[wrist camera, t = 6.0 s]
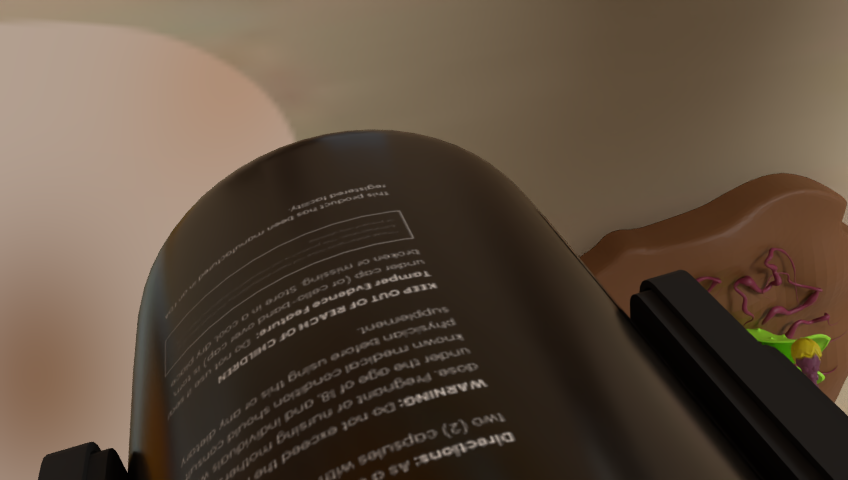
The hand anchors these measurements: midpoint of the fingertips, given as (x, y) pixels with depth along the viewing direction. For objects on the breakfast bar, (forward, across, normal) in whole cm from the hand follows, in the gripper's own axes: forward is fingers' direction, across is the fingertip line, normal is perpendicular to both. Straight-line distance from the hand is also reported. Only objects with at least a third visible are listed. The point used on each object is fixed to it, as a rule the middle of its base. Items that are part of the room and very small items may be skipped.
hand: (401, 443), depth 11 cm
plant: (+24, -19, +24) cm, 39 cm away
